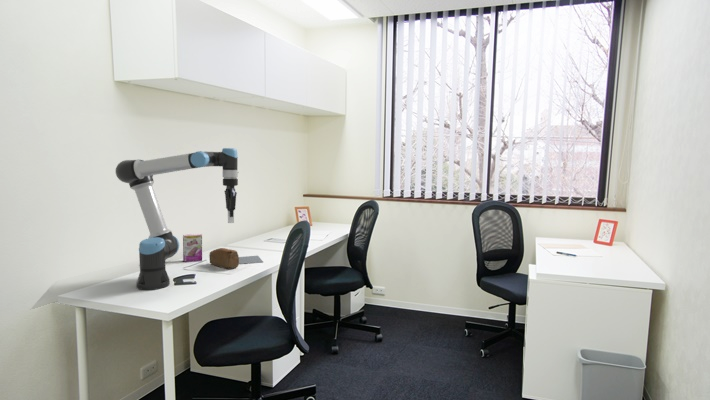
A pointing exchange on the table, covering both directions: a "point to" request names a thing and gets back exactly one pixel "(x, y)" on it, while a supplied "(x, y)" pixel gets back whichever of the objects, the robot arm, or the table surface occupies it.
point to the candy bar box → (192, 247)
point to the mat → (250, 259)
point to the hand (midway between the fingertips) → (230, 222)
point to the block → (224, 258)
